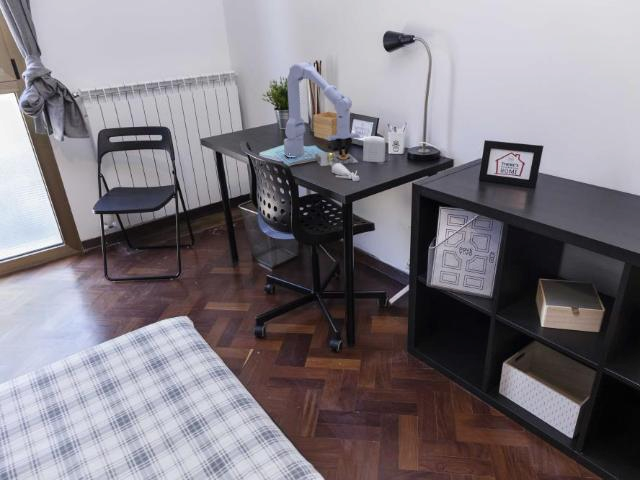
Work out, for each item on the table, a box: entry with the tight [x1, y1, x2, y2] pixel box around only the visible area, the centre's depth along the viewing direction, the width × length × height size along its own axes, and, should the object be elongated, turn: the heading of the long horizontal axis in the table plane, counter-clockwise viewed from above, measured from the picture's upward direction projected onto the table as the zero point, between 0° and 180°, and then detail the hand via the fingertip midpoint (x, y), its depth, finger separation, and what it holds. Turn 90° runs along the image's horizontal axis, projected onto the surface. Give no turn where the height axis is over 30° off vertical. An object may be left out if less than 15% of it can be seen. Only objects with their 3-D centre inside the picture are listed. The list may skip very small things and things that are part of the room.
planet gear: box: [338, 149, 348, 160], centre depth 225 cm, size 5×5×4 cm
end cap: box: [326, 138, 345, 150], centre depth 245 cm, size 10×7×7 cm
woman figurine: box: [331, 163, 360, 182], centre depth 208 cm, size 12×4×18 cm
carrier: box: [310, 150, 359, 167], centre depth 229 cm, size 18×20×4 cm
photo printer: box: [362, 135, 386, 165], centre depth 222 cm, size 10×4×12 cm, turn 73°
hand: (343, 154), depth 225 cm, fingers closed on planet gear, 2 cm apart
